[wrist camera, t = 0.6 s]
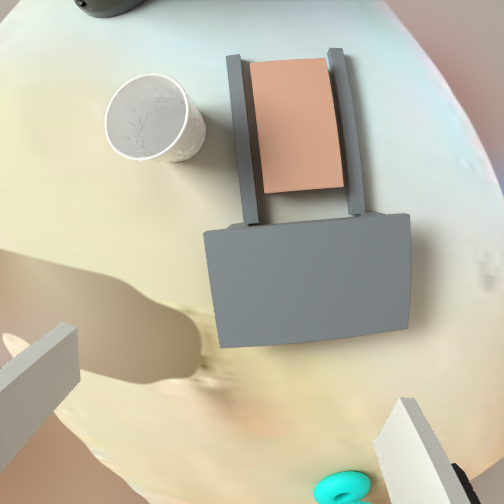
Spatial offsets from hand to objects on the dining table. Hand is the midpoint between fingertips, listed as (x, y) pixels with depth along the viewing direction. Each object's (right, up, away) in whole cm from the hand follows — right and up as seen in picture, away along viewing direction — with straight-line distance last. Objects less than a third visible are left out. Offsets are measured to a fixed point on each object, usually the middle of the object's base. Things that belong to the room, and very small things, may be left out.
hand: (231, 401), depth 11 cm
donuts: (+16, -35, +32) cm, 50 cm away
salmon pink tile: (+5, +19, +22) cm, 29 cm away
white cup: (-8, +19, +23) cm, 31 cm away
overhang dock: (+6, +13, +23) cm, 27 cm away
